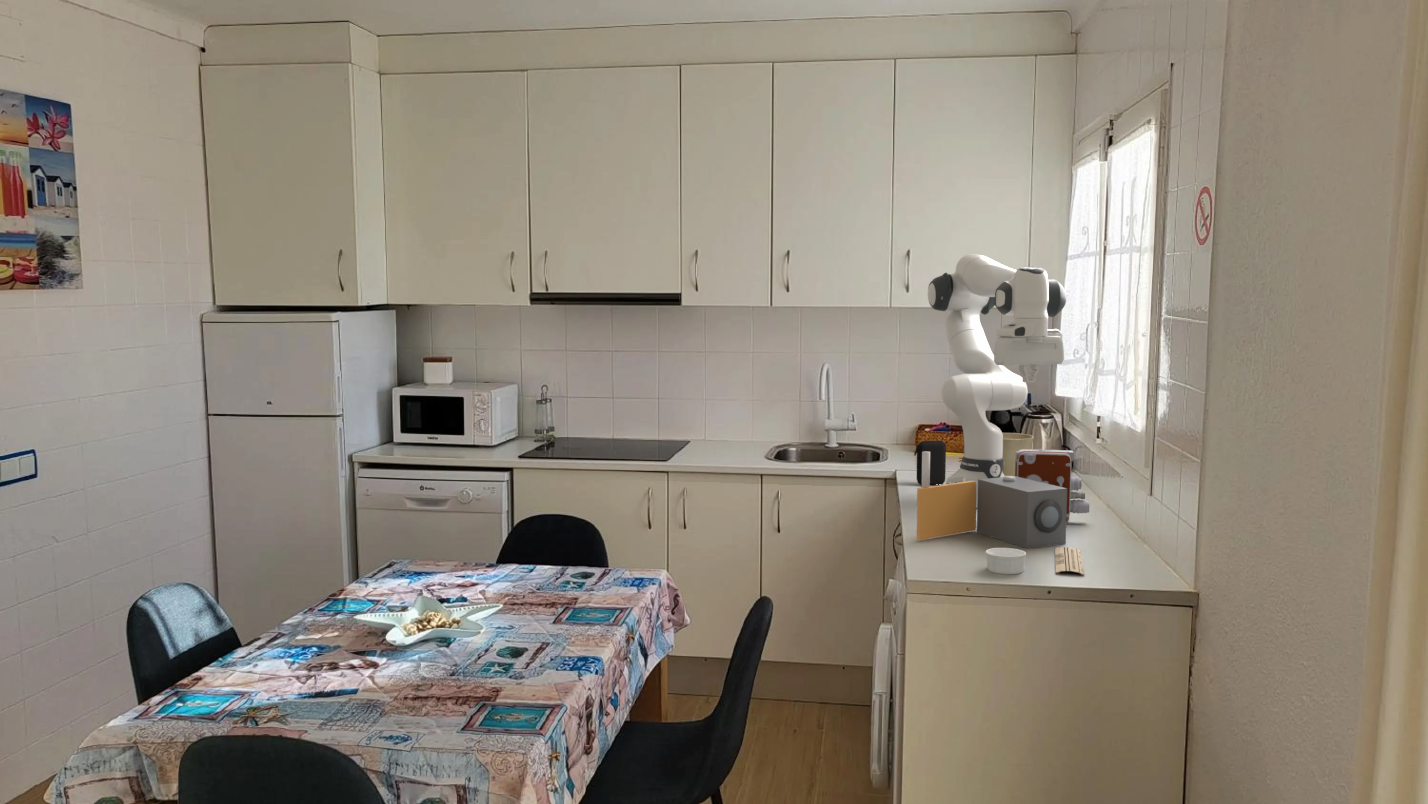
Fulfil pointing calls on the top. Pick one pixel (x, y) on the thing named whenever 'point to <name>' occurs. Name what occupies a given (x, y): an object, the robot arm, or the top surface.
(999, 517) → the box
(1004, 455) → the plant pot
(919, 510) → the door
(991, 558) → the ramekin
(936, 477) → the carrying case or bag
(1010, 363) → the robot arm
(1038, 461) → the cine camera
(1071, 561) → the newspaper
